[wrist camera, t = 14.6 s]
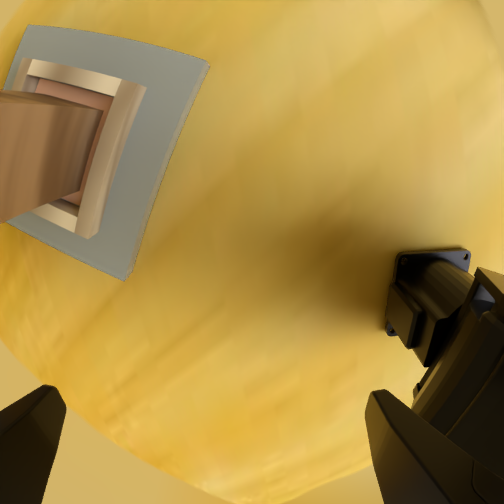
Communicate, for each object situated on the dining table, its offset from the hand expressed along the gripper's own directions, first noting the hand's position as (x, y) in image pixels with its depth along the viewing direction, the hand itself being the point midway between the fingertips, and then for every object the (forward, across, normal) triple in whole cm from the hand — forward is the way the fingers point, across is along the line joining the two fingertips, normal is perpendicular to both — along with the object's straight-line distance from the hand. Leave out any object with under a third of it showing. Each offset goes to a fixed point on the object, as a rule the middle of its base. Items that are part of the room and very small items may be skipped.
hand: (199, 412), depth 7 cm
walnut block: (+11, +10, -8) cm, 17 cm away
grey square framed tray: (+13, +10, -8) cm, 18 cm away
